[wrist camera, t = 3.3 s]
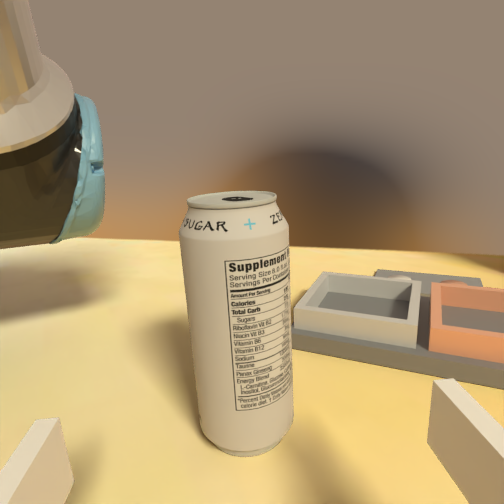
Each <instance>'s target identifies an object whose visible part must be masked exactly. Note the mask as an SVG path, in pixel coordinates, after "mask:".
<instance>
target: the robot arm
mask: <svg viewBox="0 0 504 504" xmlns="http://www.w3.org/2000/svg"><path fill="white" fill-rule="evenodd" d="M104 203H105V177H104V170H103V144H102V135H101V128H100V122H99V118H98V113H97V109H96V106H95V104H94V102H93V101H92V100H91V99H90V98H88V97H84V96H81V95H78V94H76V93H74V91H73V87H72V84H71V82H70V80H69V78H68V76H67V75H66V73H65V72H64V71H63V70H62V69H61V68H60V67H59V66H58V65H57V64H56V63H55V62H53V61H52V60H51V59H49V58H48V57H46V56H44V55H43V54H41V53H40V48H39V44H38V40H37V35H36V31H35V27H34V23H33V18H32V14H31V10H30V6H29V1H28V0H0V249H6V248H14V247H23V246H31V245H39V244H47V243H49V244H55V243H58V242H60V241H62V240H65V239H70V238H76V237H81V236H86V235H89V234H91V233H93V232H94V231H95V230H96V229H97V228H98V227H99V226H100V224H101V222H102V218H103V213H104ZM427 443H428V445H429V446H430V448H431V449H432V450H433V452H434V453H435V455H436V456H437V458H438V459H439V460H440V462H441V463H442V465H443V466H444V468H445V469H446V471H447V472H448V473H449V475H450V476H451V478H452V479H453V481H454V482H455V483H456V485H457V486H458V488H459V489H460V491H461V492H462V494H463V495H464V496H465V498H466V499H467V501H468V502H469V504H504V428H503V427H502V426H501V425H500V424H499V423H498V422H497V421H496V420H495V419H494V418H493V417H492V416H491V415H490V414H489V413H488V412H487V411H486V410H485V409H484V408H483V407H482V406H481V405H480V404H479V403H478V402H477V401H476V400H475V399H474V398H473V397H472V396H471V395H470V394H469V393H468V392H467V391H466V390H465V389H464V388H463V387H462V386H461V385H460V384H459V383H458V382H457V381H456V380H455V379H454V378H451V379H441V380H433V386H432V397H431V407H430V417H429V428H428V438H427ZM73 484H74V477H73V473H72V469H71V465H70V461H69V457H68V452H67V448H66V444H65V440H64V436H63V432H62V427H61V423H60V419H59V417H58V418H48V419H38V420H35V422H34V423H33V425H32V426H31V427H30V429H29V430H28V432H27V433H26V435H25V436H24V438H23V439H22V441H21V442H20V444H19V445H18V447H17V448H16V449H15V451H14V452H13V454H12V455H11V457H10V458H9V460H8V461H7V463H6V464H5V466H4V467H3V469H2V470H1V472H0V504H65V502H66V499H67V497H68V495H69V493H70V490H71V488H72V486H73Z"/></svg>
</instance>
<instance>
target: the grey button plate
mask: <svg viewBox="0 0 504 504" xmlns="http://www.w3.org/2000/svg"><path fill="white" fill-rule="evenodd" d="M375 277H384V278H395V279H405V280H415V281H422V282H421V295H420V296H426V297H430V293H431V282H436V283H446V284H457V285H467V286H478V287H483V286H482V282H481V279H480V278H471V277H459V276H448V275H437V274H425V273H414V272H403V271H392V270H380V269H378V270H377V272H376V275H375Z"/></svg>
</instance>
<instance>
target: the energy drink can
mask: <svg viewBox="0 0 504 504" xmlns="http://www.w3.org/2000/svg"><path fill="white" fill-rule="evenodd" d="M276 198H277V197H276V194H275V193H272V192H264V191H234V192H220V193H212V194H204V195H199V196H195V197H191V198H189V199H187V204H188V211H187V214H186V216H185V218H184V221H183V223H182V225H181V228H180V230H179V238H180V248H181V257H182V266H183V275H184V284H185V293H186V302H187V310H188V319H189V328H190V337H191V346H192V355H193V364H194V373H195V382H196V391H197V400H198V409H199V418H200V426H201V429H202V431H203V433H204V434H205V436H206V437H207V438H208V439H209V440H210V441H211V442H213V443H214V444H215V445H216V446H217V447H218V448H219V449H220V450H221V451H223V452H225V453H227V454H230V455H234V456H240V457H251V456H256V455H260V454H263V453H265V452H267V451H269V450H271V449H273V448H274V447H275V446H276V445H277V444H278V443H279V442H280V441H281V439H282V438H283V436H284V435H285V434H286V433H287V432H288V430H289V429H290V427H291V425H292V422H293V416H294V413H293V375H292V337H291V299H290V261H289V226H288V224H287V222H286V220H285V218H284V217H283V215H282V213H281V212H280V210H279V208H278V206H277V204H276Z"/></svg>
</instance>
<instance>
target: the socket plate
mask: <svg viewBox="0 0 504 504" xmlns="http://www.w3.org/2000/svg"><path fill="white" fill-rule="evenodd" d="M421 282H422V281H415V280H405V279H395V278H384V277H374V276H364V275H353V274H343V273H333V272H322V274H321V275H320V276H319V277H318V279H317V280H316V281H315V282H314V283H313V285H312V286H311V287H310V288H309V290H308V291H307V292H306V293H305V295H304V296H303V297H302V298H301V299H300V301H299V302H298V303H297V304H296V306H295V307H294V322H293V323H292V325H291V337H292V348H293V349H298V350H303V351H308V352H314V353H319V354H324V355H329V356H334V357H339V358H344V359H350V360H355V361H360V362H365V363H370V364H375V365H381V366H386V367H391V368H396V369H401V370H406V371H412V372H417V373H422V374H427V375H432V376H437V377H442V378H448V379H451V378H454V379H455V380H458V381H463V382H468V383H473V384H479V385H484V386H489V387H494V388H499V389H504V289H498V288H488V287H478V286H467V285H457V284H446V283H436V282H431V293H430V297H426V296H420V295H421Z"/></svg>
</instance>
